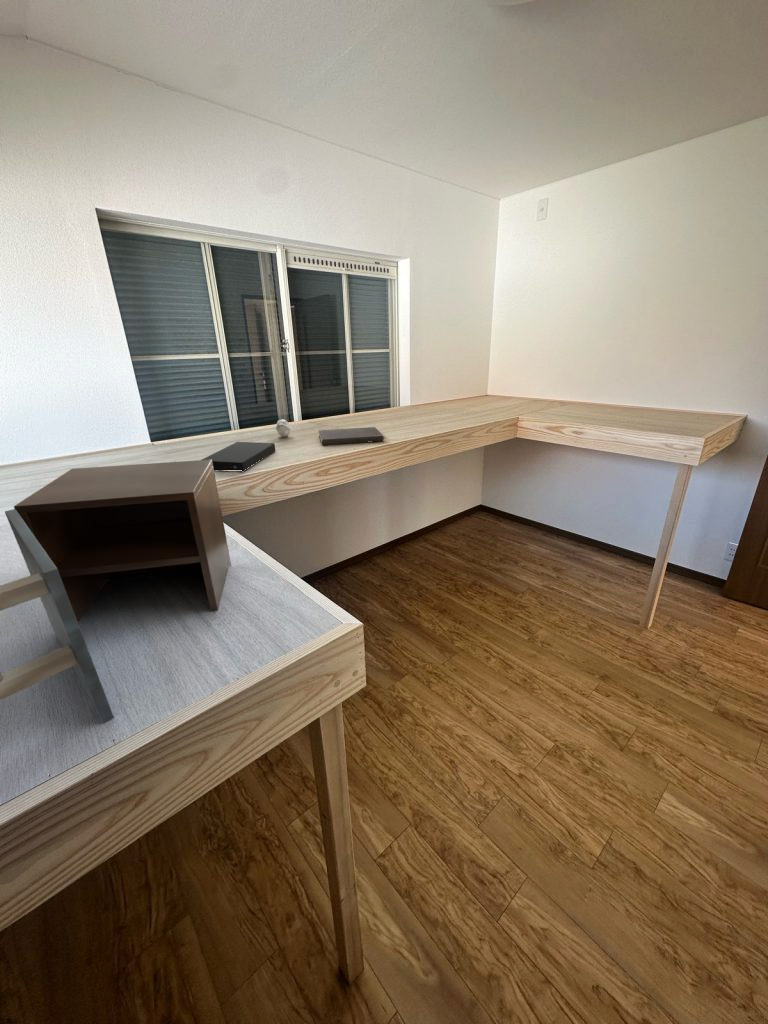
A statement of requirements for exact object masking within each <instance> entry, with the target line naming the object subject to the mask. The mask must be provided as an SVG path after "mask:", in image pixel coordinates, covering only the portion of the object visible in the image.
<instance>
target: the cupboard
mask: <svg viewBox="0 0 768 1024" xmlns="http://www.w3.org/2000/svg"><path fill="white" fill-rule="evenodd" d="M13 509H16V511H17V512H18V513H19V515H20V516H21V518H22V519H23V521H24V522H25V523H26V525H27V526H28V528H29V529H30V531H31V532H32V533H33V535H34V536H35V538H36V539H37V540H38V542H39V543H40V545H41V546H42V548H43V549H44V550H45V552H46V553H47V555H48V556H49V558H50V559H51V560H52V562H53V563H54V565H55V566H56V568H57V569H58V572H59V574H60V577H61V580H62V582H63V585H64V588H65V590H66V593H67V595H68V598H69V601H70V603H71V606H72V609H73V611H74V614H75V616H76V619H77V622H78V623H79V621H80V619H81V618H82V616H83V615H84V614H85V612H86V611H87V609H88V608H89V606H90V605H91V604H92V603H93V601H94V600H95V598H96V597H97V595H98V594H99V593H100V591H101V590H102V588H103V587H104V586H105V584H106V583H107V582H109V581H115V580H125V579H134V578H142V577H151V576H161V575H170V574H177V573H186V572H187V573H188V572H196V571H201V572H202V576H203V582H204V586H205V591H206V596H207V600H208V605H209V610H210V612H218V611H219V609H220V605H221V600H222V597H223V592H224V587H225V585H226V579H227V575H228V571H229V568H230V567H232V561H231V556H230V551H229V550H230V549H229V545H228V540H227V535H226V529H225V523H224V518H223V512H222V507H221V501H220V497H219V491H218V486H217V480H216V474H215V471H214V468H213V463H212V460H202V459H197V460H185V461H184V460H183V461H168V462H153V463H137V464H123V465H108V466H93V467H92V466H91V467H77V468H71V469H69V470H68V471H66V472H65V473H63V474H62V475H60V476H58V477H56V478H55V479H53V480H52V481H50V482H49V483H47V484H46V485H45V486H43V487H41V488H40V489H39V490H36V491H35V492H34V493H32V494H31V495H29V496H27V497H26V498H24V499H23V500H21V501H19V502H18V503H16V504H14V506H13Z"/></svg>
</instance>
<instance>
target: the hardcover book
mask: <svg viewBox="0 0 768 1024" xmlns="http://www.w3.org/2000/svg"><path fill="white" fill-rule="evenodd" d="M317 432H318V434H319V435H318V437H319V440H320V443H321V446H322V445H323V446H333V445H332V444H338V445H347V444H346V443H353V444H356V443H355V442H368V441H383V440H384V439H385V437H384V434H382V432H381V431H380V430H379V429H378V428H377V427H375V426H370V427H369V426H368V427H367V426H366V427H353V428H352V427H350V428H335V429H318V431H317ZM383 442H384V441H383ZM368 443H369V442H368Z"/></svg>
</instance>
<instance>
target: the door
mask: <svg viewBox="0 0 768 1024" xmlns="http://www.w3.org/2000/svg"><path fill="white" fill-rule="evenodd" d="M4 514H5V516H6V518H7V521H8V524H9V526H10V528H11V531H12V533H13V536H14V538H15V540H16V543H17V545H18V548H19V550H20V553H21V555H22V557H23V559H24V560H23V561H24V562H25V564H26V567H27V569H28V572H29V574H30V575H28V576H25V577H22V578H19V579H16V580H12V581H10V582H6V583H3V584H0V612H1V611H4V610H7V609H10V608H13V607H15V606H18V605H21V604H23V603H26V602H29V601H32V600H35V599H38V598H40V601H41V603H42V606H43V608H44V611H45V613H46V616H47V617H48V620H49V623H50V625H51V628H52V630H53V632H54V635H55V637H56V639H57V641H58V643H59V645H60V647H59V648H57V649H54V650H52V651H50V652H47V653H45V654H42V655H40V656H37V657H36V658H33V659H32V660H29V661H26V662H24V663H22V664H20V665H18V666H16V667H13V668H10V669H8V670H6V671H3V672H2V673H1V671H0V701H2V700H4V699H6V698H8V697H10V696H12V695H15V694H16V693H19V692H21V691H23V690H25V689H27V688H29V687H32V686H33V685H36V684H38V683H40V682H42V681H44V680H47V679H48V678H49V679H50V677H53V676H54V675H57V674H60V673H61V672H64V671H66V670H67V669H70V668H72V669H73V671H74V673H75V674H76V676H77V678H78V680H79V681H80V684H81V685H82V687H83V689H84V691H85V692H86V695H87V697H88V699H89V700H90V702H91V703H92V706H93V707H94V709H95V712H96V713H97V715H98V717H99V718H100V721H101V722H102V724H103V725H105V724H106V723H107V722H109V721H112V720H113V719H114V718H115V716H114V714H113V712H112V709H111V705H110V704H109V701H108V698H107V695H106V693H105V690H104V687H103V685H102V683H101V681H100V677H99V674H98V671H97V669H96V667H95V664H94V661H93V659H92V656H91V653H90V650H89V648H88V646H87V643H86V640H85V638H84V635H83V632H82V629H81V627H80V625H79V621H78V622H77V619H76V616H75V614H74V611H73V609H72V606H71V603H70V601H69V598H68V595H67V593H66V590H65V588H64V585H63V582H62V580H61V577H60V574H59V572H58V569H57V568H56V566H55V565H54V563H53V562H52V560H51V559H50V558H49V556H48V555H47V553H46V552H45V550H44V549H43V548H42V546H41V545H40V543H39V542H38V540H37V539H36V538H35V536H34V535H33V533H32V532H31V531H30V529H29V528H28V526H27V525H26V523H25V522H24V521H23V519H22V518H21V516H20V515H19V513H18V512H17V511H16V509H14V508H13V509H9V510H5V511H4Z"/></svg>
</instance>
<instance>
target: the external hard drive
mask: <svg viewBox="0 0 768 1024" xmlns="http://www.w3.org/2000/svg"><path fill="white" fill-rule="evenodd" d="M273 452H274V453H275V452H276V444H275V443H274V442H254V441H252V442H251V441H236V442H234V443H232V444H230V445H228V446H226V447H223V448H222V449H220V450H218V451H216V452H213V453H212V454H210V455H207V456H206V457H204V458H202V459H201V460H212V463H213V468H214V470H242V471H244V470H245V469H247V468H248V467H250V466H251V465H253V464H255V463H256V462H258V461H259V460H261V459H262V458H264V457H266V456H267V457H269V456H271V455H273V454H274V453H273ZM270 454H271V455H270ZM268 455H269V456H268ZM267 457H266V458H267ZM264 459H265V458H264ZM261 461H262V460H261ZM258 463H259V462H258ZM255 465H256V464H255ZM250 468H251V467H250ZM247 470H248V469H247ZM244 472H245V471H244Z"/></svg>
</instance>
